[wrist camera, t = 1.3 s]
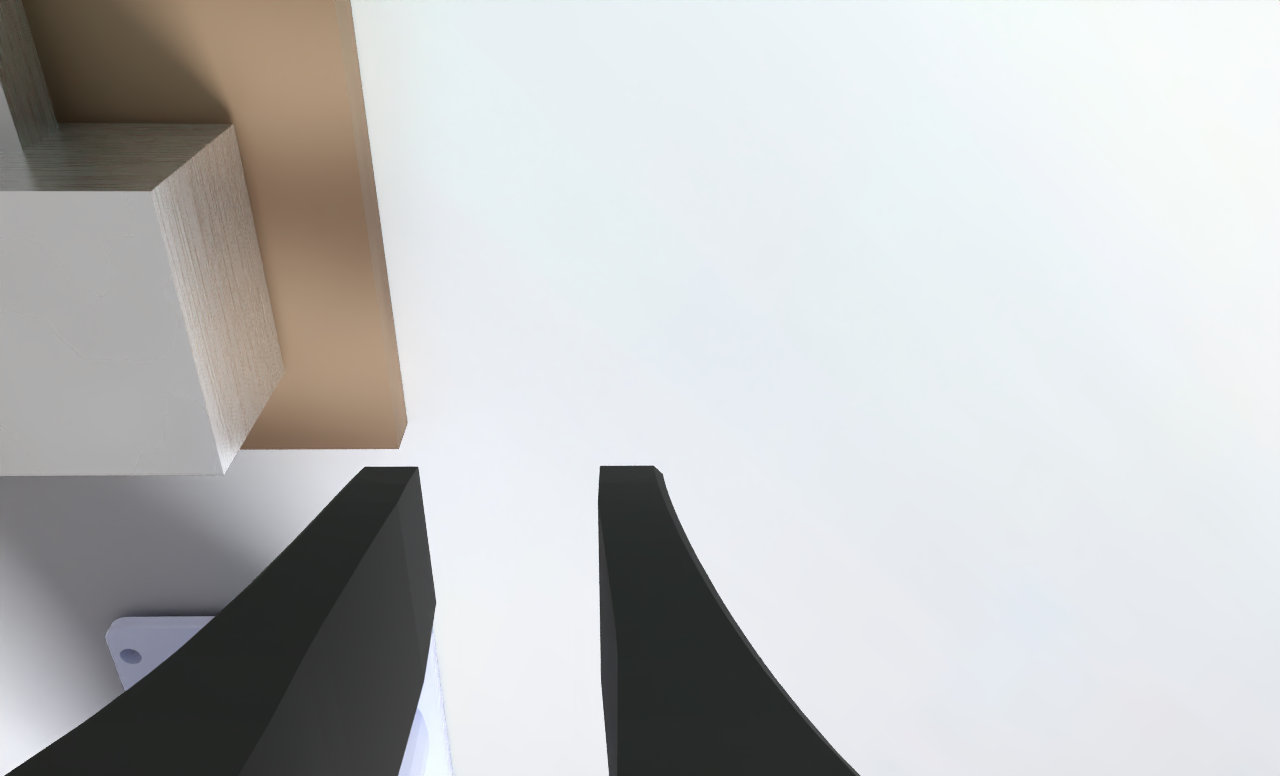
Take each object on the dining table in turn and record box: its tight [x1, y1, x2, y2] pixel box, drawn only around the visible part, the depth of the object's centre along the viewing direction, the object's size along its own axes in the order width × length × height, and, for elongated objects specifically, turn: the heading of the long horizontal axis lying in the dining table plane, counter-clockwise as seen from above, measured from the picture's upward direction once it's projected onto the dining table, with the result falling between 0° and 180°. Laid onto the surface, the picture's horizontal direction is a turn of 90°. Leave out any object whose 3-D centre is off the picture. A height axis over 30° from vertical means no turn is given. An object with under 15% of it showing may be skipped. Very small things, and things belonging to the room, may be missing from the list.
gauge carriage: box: [0, 0, 285, 476], centre depth 16 cm, size 9×4×4 cm, turn 179°
